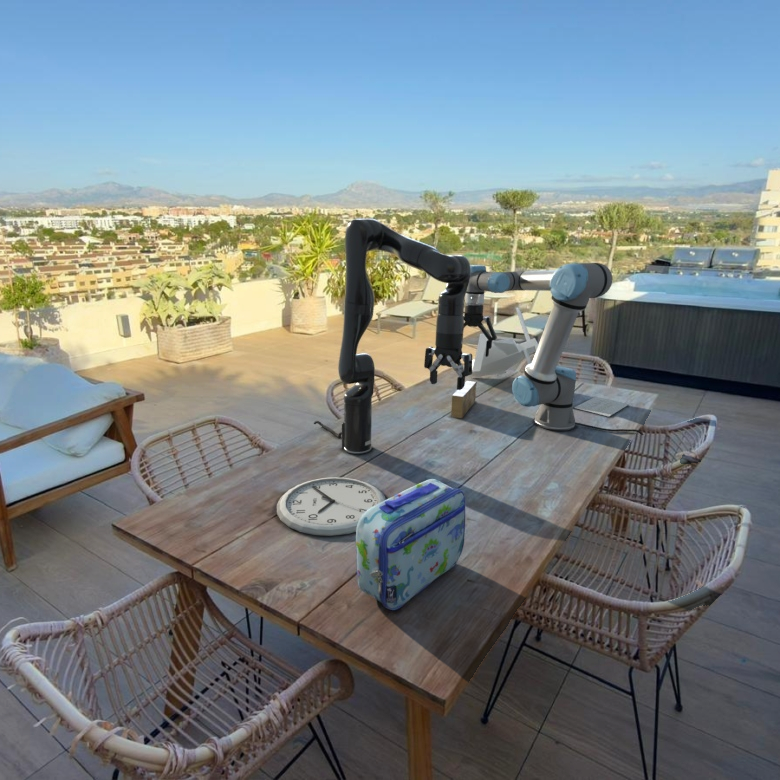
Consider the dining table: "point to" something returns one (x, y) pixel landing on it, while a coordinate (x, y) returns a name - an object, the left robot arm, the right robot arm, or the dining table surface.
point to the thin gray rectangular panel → (601, 406)
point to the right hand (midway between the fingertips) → (471, 354)
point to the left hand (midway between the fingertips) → (446, 386)
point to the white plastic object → (502, 353)
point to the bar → (463, 399)
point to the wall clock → (327, 505)
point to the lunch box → (409, 541)
